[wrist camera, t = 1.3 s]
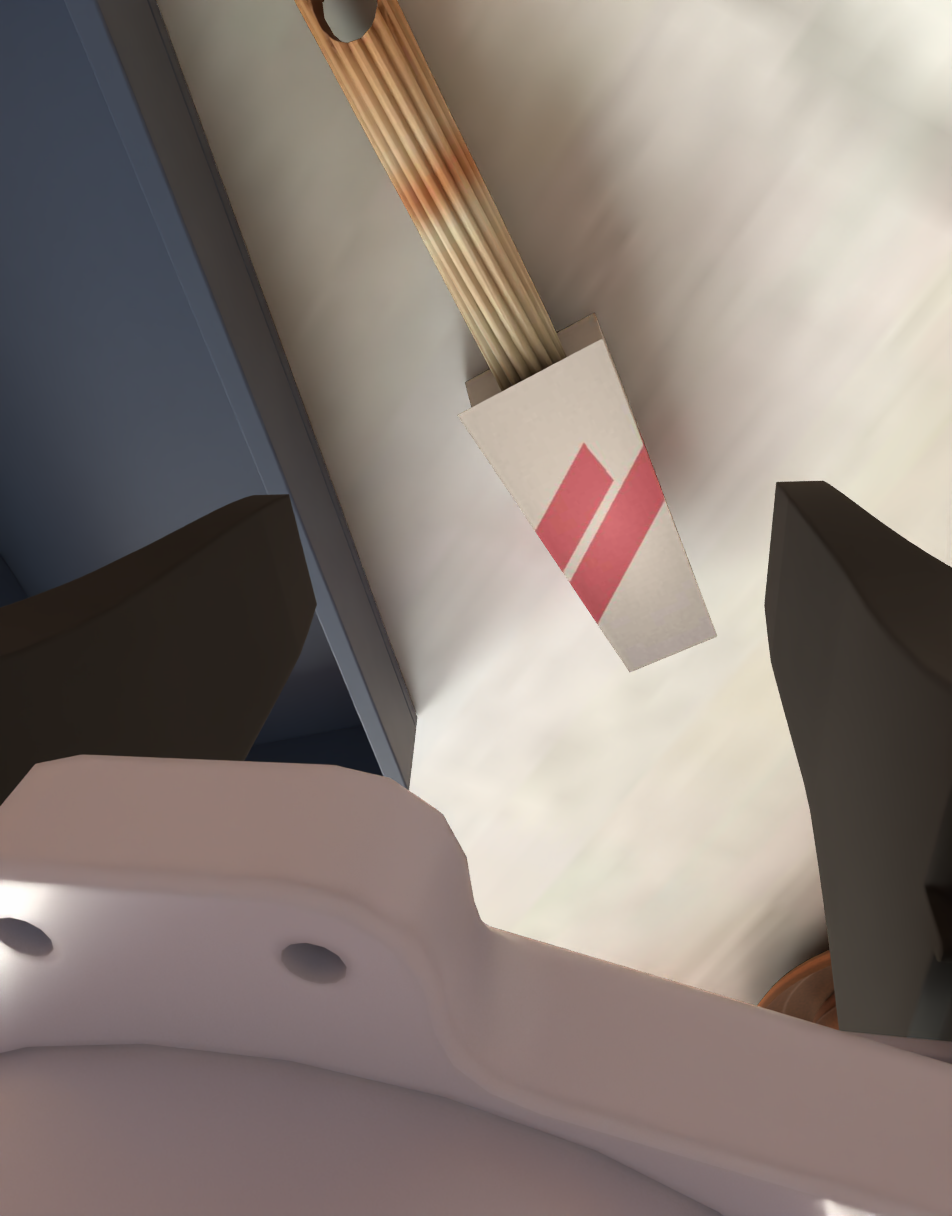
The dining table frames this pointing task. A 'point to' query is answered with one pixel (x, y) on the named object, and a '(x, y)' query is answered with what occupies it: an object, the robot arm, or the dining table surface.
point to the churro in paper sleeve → (527, 362)
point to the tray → (157, 362)
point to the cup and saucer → (806, 993)
